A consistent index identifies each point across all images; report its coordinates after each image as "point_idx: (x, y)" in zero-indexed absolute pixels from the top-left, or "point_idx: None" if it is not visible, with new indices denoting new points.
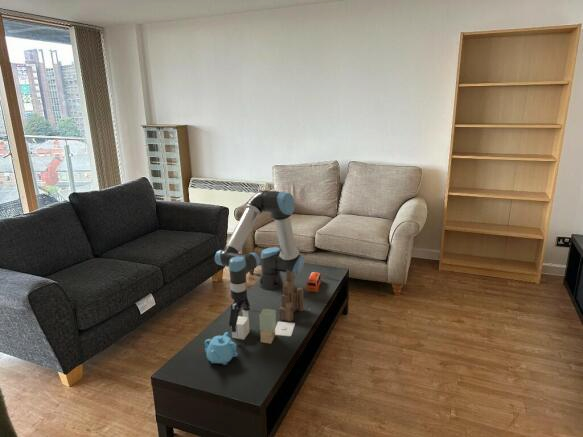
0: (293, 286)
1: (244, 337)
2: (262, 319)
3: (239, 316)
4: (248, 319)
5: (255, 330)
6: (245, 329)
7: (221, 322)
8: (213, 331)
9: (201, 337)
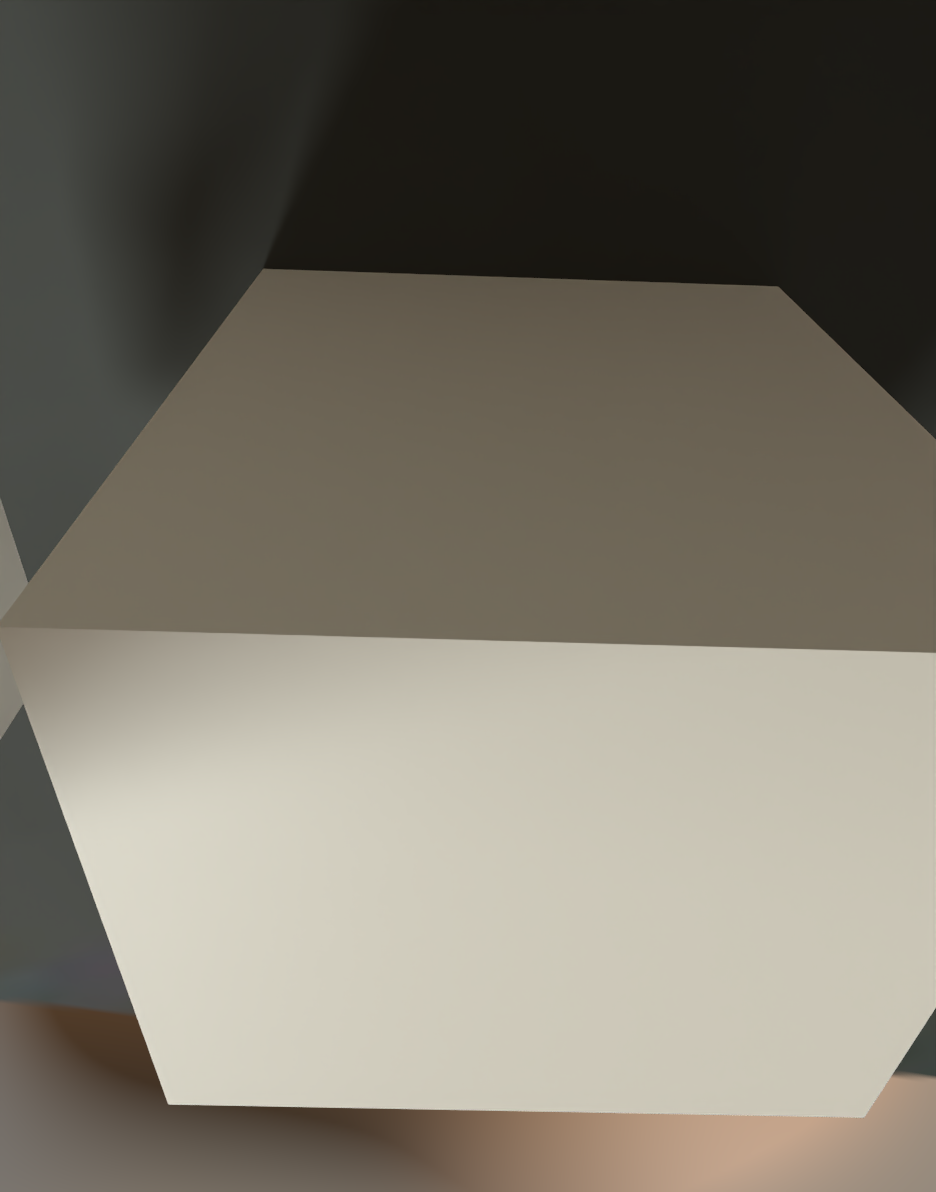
0: None
1: (750, 301)
2: None
3: (185, 1041)
4: (128, 551)
5: (82, 45)
6: (671, 398)
7: None
8: None
9: None
